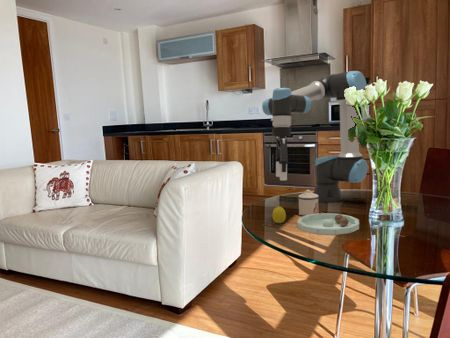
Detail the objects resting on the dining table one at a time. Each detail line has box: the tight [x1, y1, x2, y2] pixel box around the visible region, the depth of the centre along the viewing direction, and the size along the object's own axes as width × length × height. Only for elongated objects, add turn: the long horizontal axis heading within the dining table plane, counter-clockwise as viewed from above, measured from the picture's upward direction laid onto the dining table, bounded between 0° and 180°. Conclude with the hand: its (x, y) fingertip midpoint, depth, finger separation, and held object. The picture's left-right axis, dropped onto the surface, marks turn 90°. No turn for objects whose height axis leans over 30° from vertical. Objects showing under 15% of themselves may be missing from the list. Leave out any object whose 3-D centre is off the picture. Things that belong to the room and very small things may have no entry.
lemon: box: [271, 205, 287, 224], centre depth 151 cm, size 6×6×8 cm
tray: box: [296, 212, 360, 236], centre depth 143 cm, size 23×23×4 cm
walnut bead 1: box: [335, 213, 343, 223], centre depth 145 cm, size 4×4×4 cm
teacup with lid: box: [297, 189, 320, 216], centre depth 164 cm, size 12×9×12 cm
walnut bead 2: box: [339, 217, 349, 226], centre depth 141 cm, size 4×4×4 cm
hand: (281, 178), depth 150 cm, fingers open, 13 cm apart
